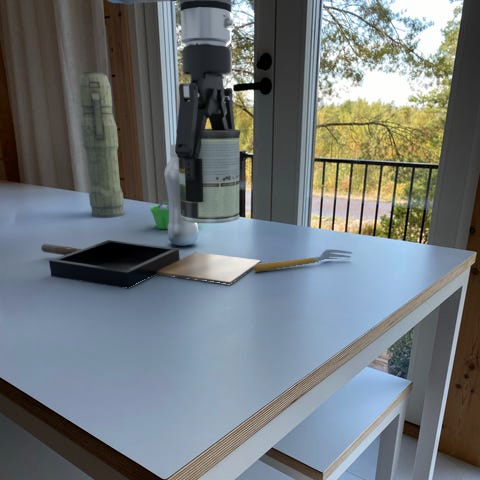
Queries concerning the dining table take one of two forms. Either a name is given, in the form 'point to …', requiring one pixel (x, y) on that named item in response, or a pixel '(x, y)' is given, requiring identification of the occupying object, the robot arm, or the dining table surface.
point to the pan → (110, 262)
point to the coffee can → (215, 179)
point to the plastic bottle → (177, 206)
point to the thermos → (100, 145)
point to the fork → (300, 260)
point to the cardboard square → (209, 267)
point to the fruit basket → (161, 215)
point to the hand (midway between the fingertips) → (209, 196)
